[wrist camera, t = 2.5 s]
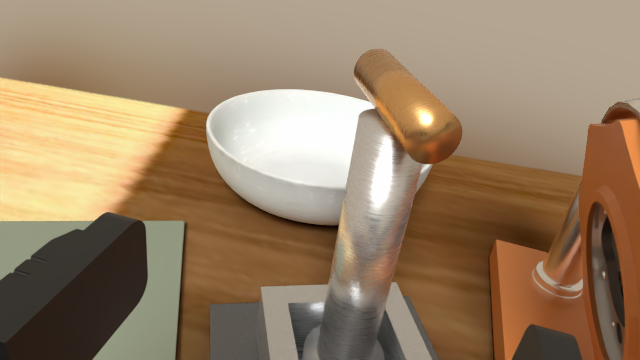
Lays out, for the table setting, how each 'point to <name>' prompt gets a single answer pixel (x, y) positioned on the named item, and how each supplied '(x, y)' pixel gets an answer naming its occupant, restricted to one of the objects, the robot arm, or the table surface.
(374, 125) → the cylinder
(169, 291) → the rubber mat
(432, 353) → the chuck block
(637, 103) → the desk clock
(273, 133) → the serving bowl
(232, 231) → the table surface
